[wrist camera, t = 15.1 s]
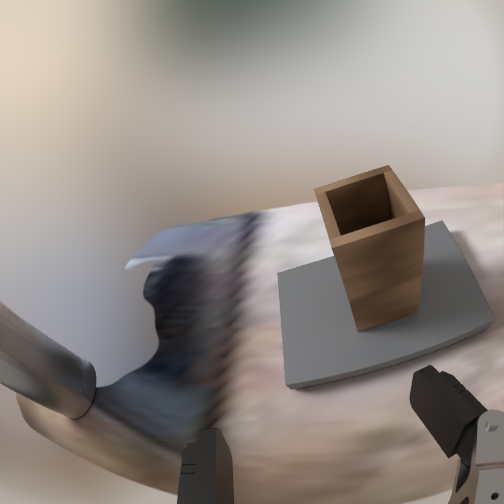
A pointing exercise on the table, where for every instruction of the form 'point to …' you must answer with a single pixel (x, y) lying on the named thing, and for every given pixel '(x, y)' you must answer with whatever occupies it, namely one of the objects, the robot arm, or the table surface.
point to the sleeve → (375, 244)
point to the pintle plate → (381, 337)
